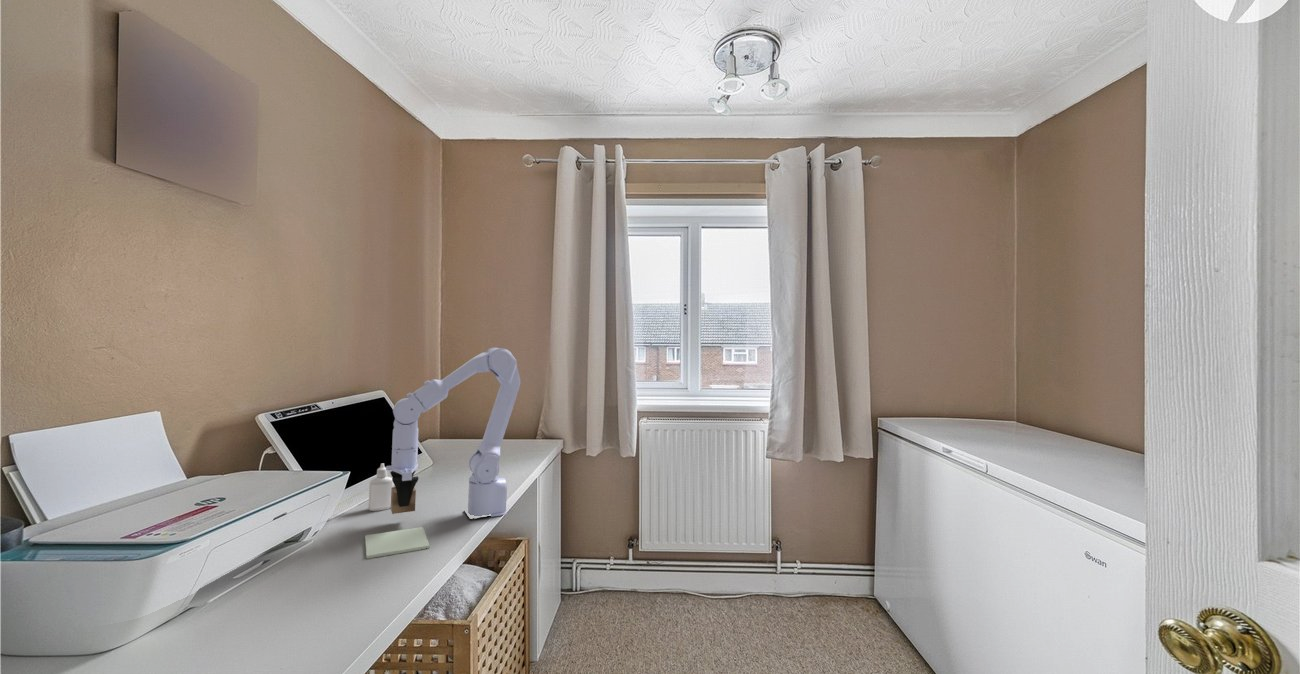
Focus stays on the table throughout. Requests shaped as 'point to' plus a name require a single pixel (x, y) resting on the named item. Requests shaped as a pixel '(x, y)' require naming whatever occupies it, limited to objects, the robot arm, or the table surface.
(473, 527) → the table surface
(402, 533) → the sage board
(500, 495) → the robot arm
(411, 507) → the walnut cube
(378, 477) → the eye dropper bottle
